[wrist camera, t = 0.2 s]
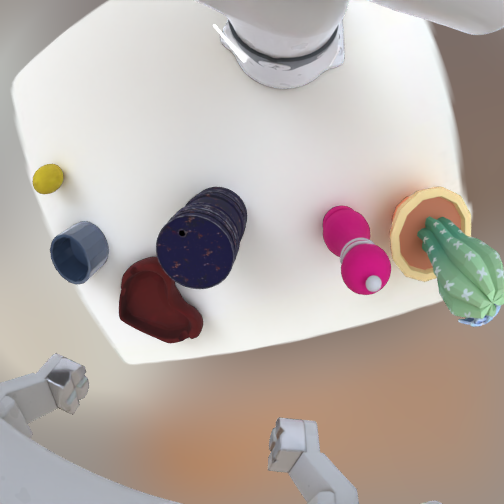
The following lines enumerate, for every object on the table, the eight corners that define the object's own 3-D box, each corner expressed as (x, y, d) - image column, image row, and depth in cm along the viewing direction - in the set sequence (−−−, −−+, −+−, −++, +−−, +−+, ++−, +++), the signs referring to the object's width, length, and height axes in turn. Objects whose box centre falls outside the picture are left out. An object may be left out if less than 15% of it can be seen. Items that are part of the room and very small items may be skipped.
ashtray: (106, 271, 55) (94, 283, 50) (168, 244, 51) (158, 256, 46) (150, 337, 61) (142, 352, 56) (212, 321, 57) (207, 337, 52)
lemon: (57, 191, 48) (32, 203, 41) (48, 168, 46) (22, 177, 39) (74, 180, 47) (48, 191, 40) (64, 155, 45) (37, 163, 38)
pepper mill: (358, 245, 48) (396, 315, 30) (317, 242, 48) (337, 315, 30) (364, 204, 45) (413, 258, 26) (321, 200, 45) (349, 254, 27)
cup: (68, 217, 50) (47, 230, 44) (108, 225, 50) (88, 240, 44) (72, 261, 55) (54, 277, 48) (109, 272, 55) (93, 289, 48)
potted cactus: (369, 259, 49) (422, 361, 26) (378, 172, 42) (465, 226, 19) (440, 259, 47) (511, 343, 24) (454, 180, 41) (552, 233, 18)
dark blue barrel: (257, 231, 48) (248, 275, 35) (205, 251, 51) (180, 299, 37) (231, 176, 45) (210, 200, 31) (179, 200, 47) (141, 233, 34)
